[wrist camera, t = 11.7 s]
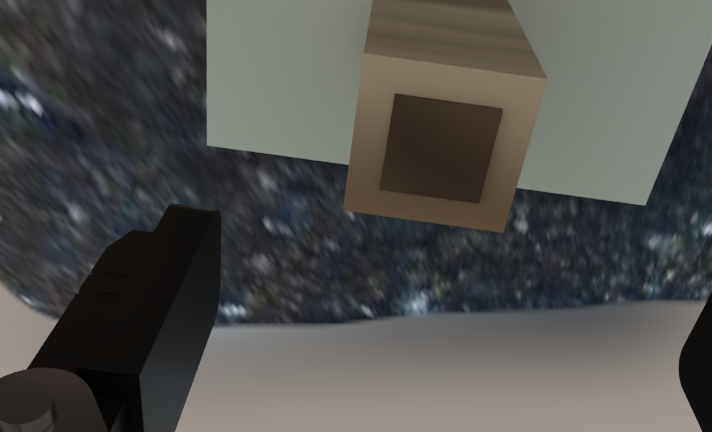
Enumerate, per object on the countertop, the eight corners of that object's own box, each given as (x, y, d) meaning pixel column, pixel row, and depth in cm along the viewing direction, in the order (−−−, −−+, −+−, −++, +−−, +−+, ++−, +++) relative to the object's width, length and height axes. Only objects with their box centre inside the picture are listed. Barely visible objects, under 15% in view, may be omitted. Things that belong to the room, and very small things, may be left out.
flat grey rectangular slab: (211, -203, 21) (206, -203, 20) (771, -123, 21) (780, -121, 21) (210, 139, 27) (206, 145, 27) (640, 198, 28) (645, 205, 27)
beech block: (379, -41, 23) (363, 55, 14) (495, -24, 23) (549, 81, 14) (364, 71, 25) (342, 213, 16) (470, 86, 25) (504, 236, 16)
